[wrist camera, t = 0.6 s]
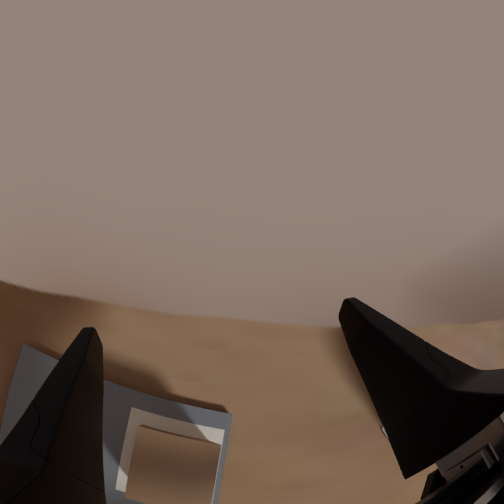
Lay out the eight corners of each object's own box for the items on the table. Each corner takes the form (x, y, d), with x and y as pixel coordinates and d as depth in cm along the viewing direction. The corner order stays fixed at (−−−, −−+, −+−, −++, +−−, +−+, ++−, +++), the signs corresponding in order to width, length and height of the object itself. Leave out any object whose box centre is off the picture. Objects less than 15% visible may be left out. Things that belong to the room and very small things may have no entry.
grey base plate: (202, 572, 11) (204, 576, 10) (-3, 500, 8) (-7, 501, 8) (230, 414, 21) (232, 414, 20) (27, 345, 18) (23, 342, 17)
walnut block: (198, 496, 15) (209, 515, 11) (131, 481, 14) (124, 497, 11) (208, 440, 18) (221, 444, 14) (142, 424, 17) (137, 425, 14)
